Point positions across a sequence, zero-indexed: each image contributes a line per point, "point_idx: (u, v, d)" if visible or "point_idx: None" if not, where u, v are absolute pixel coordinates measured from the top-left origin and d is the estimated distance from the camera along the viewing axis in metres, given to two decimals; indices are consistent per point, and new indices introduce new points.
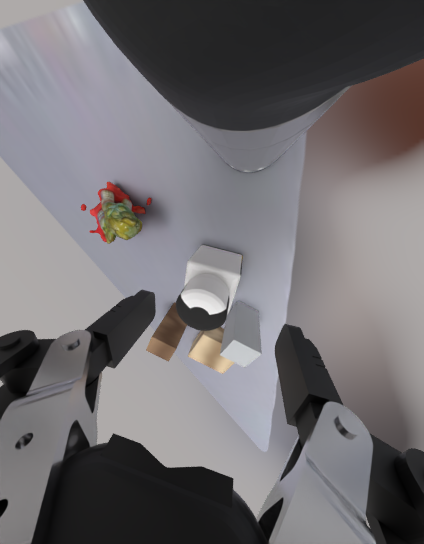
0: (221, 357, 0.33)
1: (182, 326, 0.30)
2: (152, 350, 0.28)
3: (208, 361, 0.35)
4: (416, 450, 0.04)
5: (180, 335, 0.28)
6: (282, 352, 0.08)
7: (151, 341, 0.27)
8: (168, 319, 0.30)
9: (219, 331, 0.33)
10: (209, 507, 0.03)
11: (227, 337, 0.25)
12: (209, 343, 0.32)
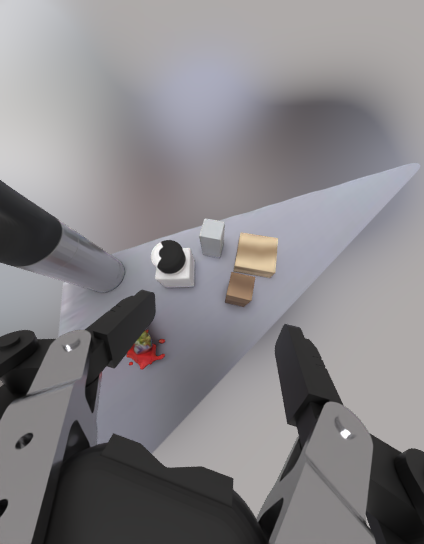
0: (255, 245, 0.38)
1: None
2: (247, 293, 0.28)
3: (269, 253, 0.37)
4: (416, 450, 0.04)
5: None
6: (282, 352, 0.08)
7: (233, 294, 0.29)
8: None
9: None
10: (209, 507, 0.03)
11: (211, 243, 0.35)
12: (243, 258, 0.37)
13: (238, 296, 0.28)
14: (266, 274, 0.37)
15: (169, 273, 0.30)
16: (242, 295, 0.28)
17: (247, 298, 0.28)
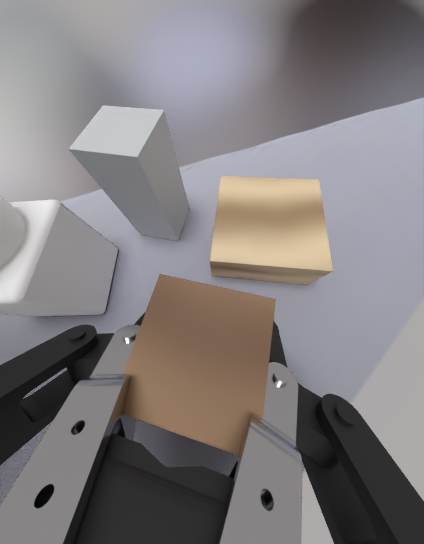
0: (261, 202, 0.14)
1: None
2: (232, 405, 0.05)
3: (302, 218, 0.13)
4: (328, 395, 0.05)
5: None
6: None
7: (151, 412, 0.05)
8: None
9: None
10: (209, 507, 0.03)
11: (126, 184, 0.11)
12: (232, 238, 0.13)
13: (177, 424, 0.05)
14: (300, 277, 0.13)
15: None
16: (202, 418, 0.05)
17: (232, 443, 0.04)
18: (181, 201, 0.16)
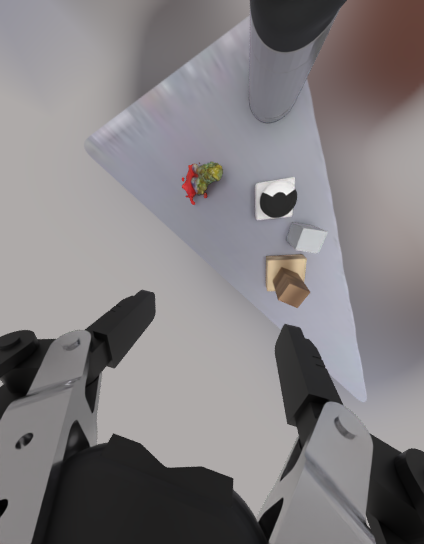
0: None
1: (300, 281, 0.36)
2: (284, 298, 0.34)
3: None
4: (416, 451, 0.04)
5: (304, 285, 0.34)
6: (282, 352, 0.08)
7: (287, 288, 0.33)
8: (288, 275, 0.36)
9: (279, 256, 0.42)
10: (209, 507, 0.03)
11: (296, 238, 0.34)
12: (276, 266, 0.40)
13: (284, 291, 0.33)
14: (266, 283, 0.45)
15: (259, 202, 0.31)
16: (284, 294, 0.34)
17: (280, 297, 0.34)
18: None
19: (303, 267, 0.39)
